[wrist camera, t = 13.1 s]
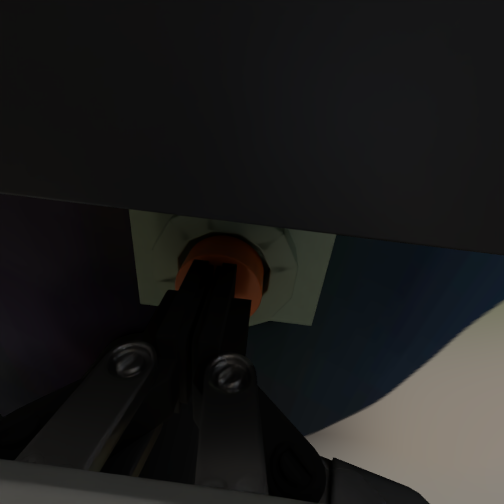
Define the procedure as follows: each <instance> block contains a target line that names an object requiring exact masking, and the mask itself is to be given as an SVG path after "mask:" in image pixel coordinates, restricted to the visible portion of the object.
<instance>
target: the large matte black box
mask: <svg viewBox="0 0 504 504" xmlns="http://www.w3.org/2000/svg"><path fill="white" fill-rule="evenodd" d="M0 193H1V194H9V195H17V196H26V197H34V198H42V199H50V200H58V201H66V202H74V203H83V204H91V205H99V206H107V207H115V208H123V209H131V210H140V211H148V212H156V213H164V214H172V215H180V216H188V217H197V218H205V219H213V220H221V221H229V222H237V223H245V224H254V225H262V226H270V227H278V228H286V229H294V230H302V231H311V232H319V233H327V234H335V235H343V236H351V237H359V238H368V239H376V240H384V241H392V242H400V243H408V244H416V245H425V246H433V247H441V248H449V249H457V250H465V251H473V252H481V253H490V254H498V255H504V0H0Z"/></svg>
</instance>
